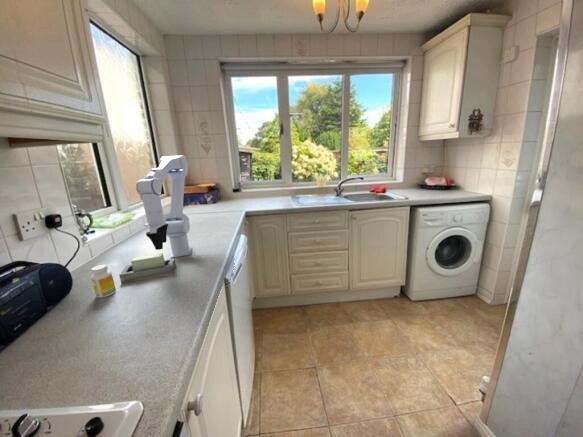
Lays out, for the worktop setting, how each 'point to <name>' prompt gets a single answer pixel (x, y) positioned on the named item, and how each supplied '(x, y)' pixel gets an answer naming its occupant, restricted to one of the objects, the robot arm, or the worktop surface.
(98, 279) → the supplement bottle
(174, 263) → the frame
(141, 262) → the door panel
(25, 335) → the worktop surface
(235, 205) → the worktop surface
